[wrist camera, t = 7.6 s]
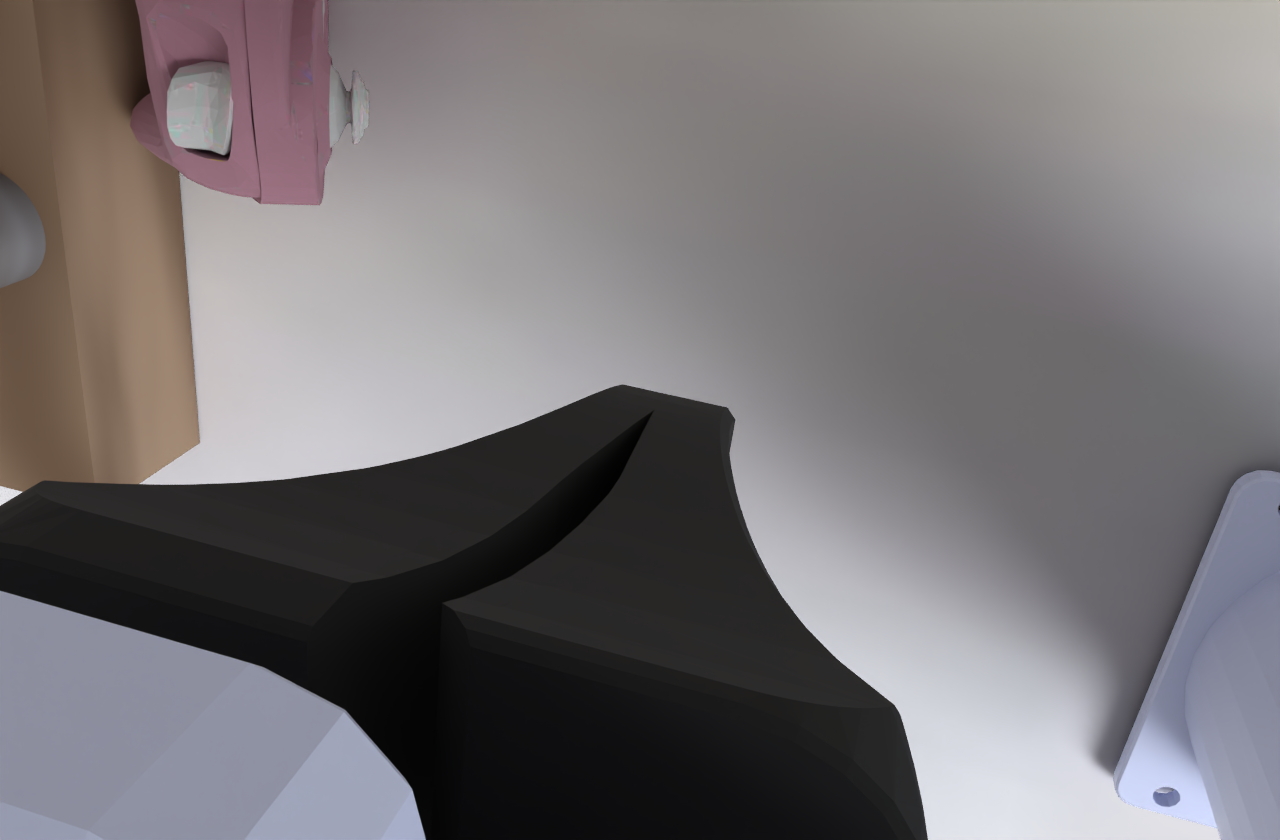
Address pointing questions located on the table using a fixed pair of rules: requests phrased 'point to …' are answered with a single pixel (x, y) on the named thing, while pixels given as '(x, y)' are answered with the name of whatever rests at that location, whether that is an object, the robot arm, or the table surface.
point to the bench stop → (87, 256)
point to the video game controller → (245, 95)
